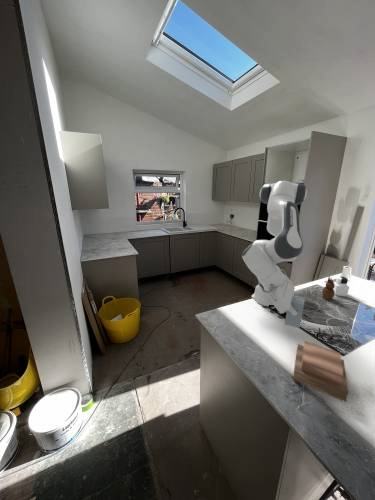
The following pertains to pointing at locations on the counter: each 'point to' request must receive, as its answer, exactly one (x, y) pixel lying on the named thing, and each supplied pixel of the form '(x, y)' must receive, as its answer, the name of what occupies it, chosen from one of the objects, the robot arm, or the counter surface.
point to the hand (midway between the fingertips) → (296, 310)
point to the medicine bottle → (341, 286)
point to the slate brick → (295, 320)
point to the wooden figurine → (328, 290)
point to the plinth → (319, 380)
